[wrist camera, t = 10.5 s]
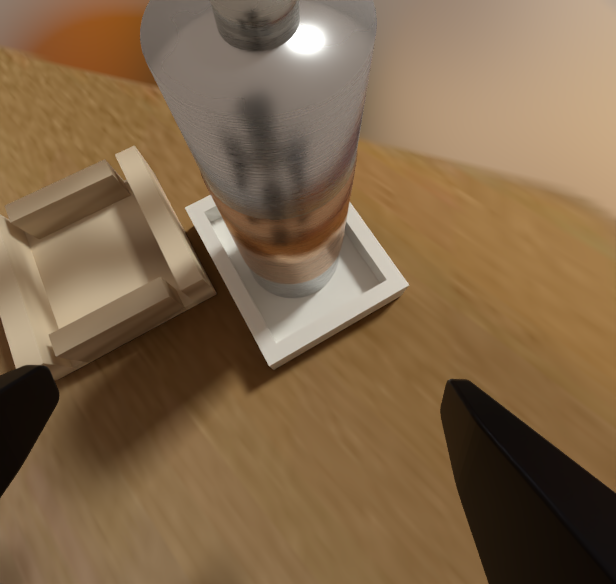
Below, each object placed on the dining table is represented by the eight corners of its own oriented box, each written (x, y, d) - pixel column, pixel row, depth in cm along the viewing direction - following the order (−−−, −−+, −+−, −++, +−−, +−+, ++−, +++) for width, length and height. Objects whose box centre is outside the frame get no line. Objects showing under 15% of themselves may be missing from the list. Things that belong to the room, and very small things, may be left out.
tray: (401, 295, 19) (409, 285, 18) (273, 370, 18) (269, 366, 17) (310, 165, 22) (309, 145, 20) (195, 223, 21) (184, 207, 19)
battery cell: (344, 295, 19) (406, 69, 6) (248, 302, 19) (104, 92, 6) (334, 210, 20) (368, -113, 8) (245, 217, 20) (128, -96, 8)
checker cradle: (217, 293, 20) (202, 278, 17) (57, 380, 18) (18, 376, 16) (154, 173, 22) (134, 145, 20) (11, 241, 21) (-29, 220, 19)
